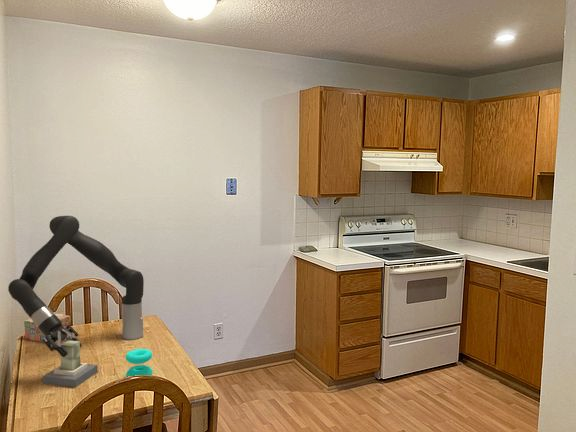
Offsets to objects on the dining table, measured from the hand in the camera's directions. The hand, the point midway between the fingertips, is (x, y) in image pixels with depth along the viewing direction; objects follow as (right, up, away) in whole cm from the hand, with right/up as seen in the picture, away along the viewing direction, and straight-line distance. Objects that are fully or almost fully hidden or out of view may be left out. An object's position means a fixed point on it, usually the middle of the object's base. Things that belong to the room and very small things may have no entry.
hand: (73, 351), depth 186 cm
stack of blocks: (-31, -7, +43) cm, 53 cm away
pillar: (-1, -8, +1) cm, 8 cm away
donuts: (+25, -11, +3) cm, 27 cm away
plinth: (-1, -11, +1) cm, 11 cm away
